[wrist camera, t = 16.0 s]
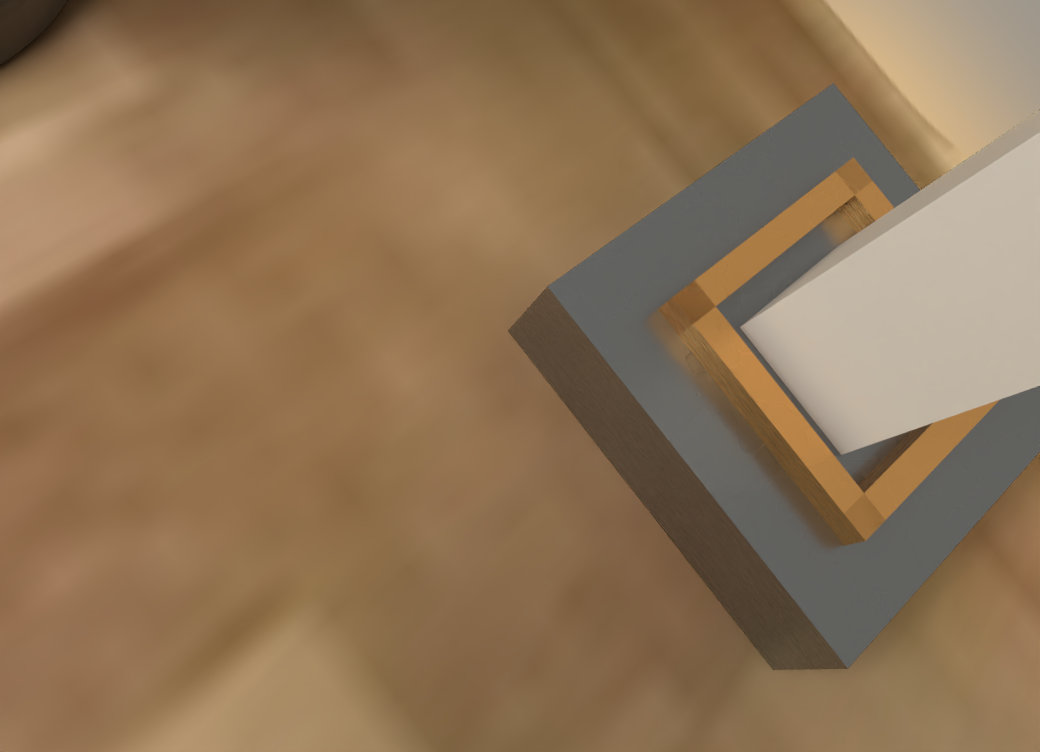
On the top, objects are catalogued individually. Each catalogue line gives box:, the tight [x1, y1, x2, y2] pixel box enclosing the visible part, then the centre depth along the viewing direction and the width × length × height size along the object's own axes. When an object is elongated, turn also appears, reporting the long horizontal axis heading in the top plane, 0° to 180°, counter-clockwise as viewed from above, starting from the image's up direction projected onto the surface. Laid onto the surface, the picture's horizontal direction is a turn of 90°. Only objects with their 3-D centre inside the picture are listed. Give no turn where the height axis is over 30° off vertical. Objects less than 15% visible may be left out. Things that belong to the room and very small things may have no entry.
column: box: [740, 110, 1040, 455], centre depth 26 cm, size 5×5×12 cm
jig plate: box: [508, 83, 1040, 670], centre depth 33 cm, size 14×14×5 cm
